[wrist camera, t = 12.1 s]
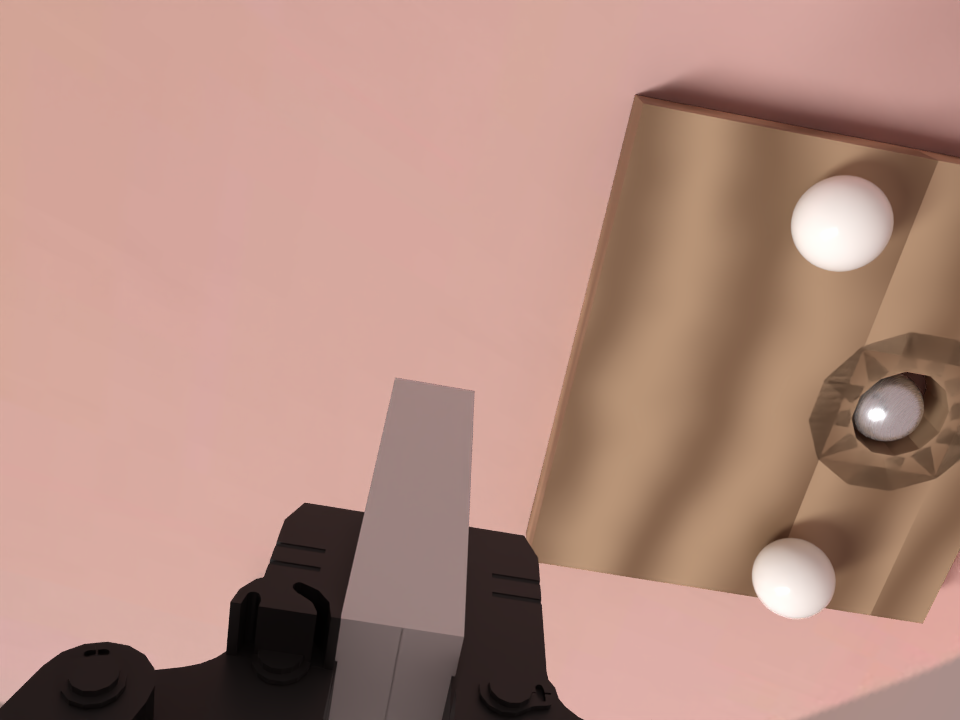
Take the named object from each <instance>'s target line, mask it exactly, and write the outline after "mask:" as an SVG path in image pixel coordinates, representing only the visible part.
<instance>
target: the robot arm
mask: <svg viewBox="0 0 960 720" xmlns="http://www.w3.org/2000/svg"><path fill="white" fill-rule="evenodd" d="M474 393H475V391H472V390H466V389H460V388H454V387H448V386H442V385H436V384H430V383H425V382H419V381H413V380H407V379H401V378H395V381H394V386H393V390H392V394H391V399H390V403H389V407H388V412H387V416H386V421H385V425H384V429H383V434H382V438H381V443H380V447H379V451H378V456H377V460H376V465H375V469H374V473H373V478H372V482H371V487H370V491H369V495H368V500H367V504H366V508H365V512H360V511H353V510H347V509H341V508H335V507H328V506H322V505H316V504H310V503H304V504H303V505H302V506H300V507H299V508H298V509H297V510H296V511H295V512H293V513H292V514H291V515H290V516H289V517H287V518H286V519H285V521H284V523H283V526H282V529H281V532H280V534H279V537H278V540H277V544H276V546H275V548H274V551H273V554H272V556H271V559H270V564H269V565H268V567H267V570H266V573H265V576H264V577H263V578H259V579H256V580H254V581H252V582H251V583H249V584H247V585H246V586H244V587H242V588H240V590H239V591H238V592H237V594H236V595H235V596H234V598H233V599H232V601H231V603H230V614H229V626H228V638H227V650H226V652H224V653H223V654H221V655H220V656H218V657H217V658H214V659H212V660H209V661H206V662H204V663H201V664H197V665H191V666H186V667H179V668H170V669H160V670H154V667H153V666H152V664H151V663H150V662H149V660H148V659H147V657H146V656H145V655H144V654H143V653H141V652H139V651H137V650H136V649H134V648H132V647H130V646H128V645H122V644H117V643H111V642H101V643H90V644H83V645H80V646H78V647H75V648H72V649H69V650H67V651H64V652H61V653H60V654H59V655H57V656H56V657H54V658H53V659H52V660H50V661H49V662H47V663H46V664H45V665H43V666H42V667H41V668H40V669H39V670H38V671H37V672H36V673H35V674H34V675H33V676H32V677H31V678H30V679H29V680H28V681H27V682H26V683H25V684H24V685H23V686H22V687H21V688H20V689H19V690H18V691H17V692H16V693H15V694H14V695H13V696H12V697H11V698H10V699H9V700H8V701H7V702H6V703H5V704H4V705H3V706H2V707H1V708H0V720H583V719H581V718H579V717H578V716H576V715H575V714H574V713H573V712H571V711H570V710H569V709H568V708H566V707H565V706H564V705H563V703H562V702H561V701H560V700H559V698H558V695H557V692H556V689H555V687H554V686H553V685H552V684H551V682H550V681H549V680H548V676H547V672H546V658H545V644H544V631H543V617H542V604H541V589H540V585H539V583H540V576H539V562H538V557H537V555H536V554H535V552H534V550H533V549H532V547H531V546H530V544H529V543H528V541H527V540H526V538H525V536H523V535H517V534H510V533H504V532H498V531H492V530H486V529H479V528H473V527H469V510H470V486H471V463H472V440H473V416H474Z"/></svg>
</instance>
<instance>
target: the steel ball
mask: <svg viewBox="0 0 960 720" xmlns="http://www.w3.org/2000/svg"><path fill="white" fill-rule="evenodd" d="M923 412H924V401H923V397H922V394H921V392H920V390H919V388H918V387H917V385H916V384H915V383H914V382H913V381H912V380H911V379H909V378H908V377H906V376H905V375H903V374H897V375H893V376H890V377H886V378H883V379H880V380H879V381H878V382H877V383H875V384H874V385H873V386H872V387H871V388H870V389H868V390H867V391H866V392H865V393H864V394H863V395H861V396H860V399H859V401H858V404H857V406H856V408H855V411H854V413H853V416H852V422H853V426H854V427H855V428H856V429H857V430H858V431H859V432H860V433H861V434H863V435H865V436H866V437H869V438H871V439H874V440H878V441H894V440H898V439H901V438H903V437H905V436H907V435H909V434H910V433H911V432H913V431H914V430H915V429H916V427H917V426H918V425H919V423H920V421H921V419H922V416H923Z"/></svg>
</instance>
